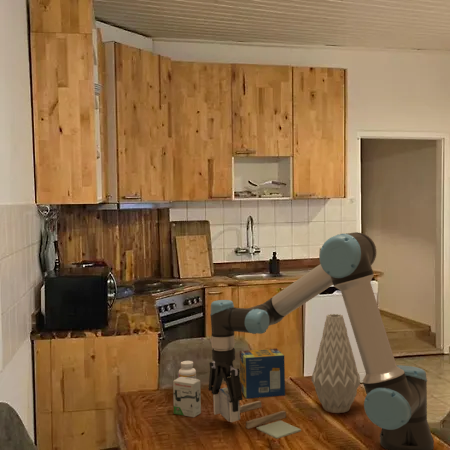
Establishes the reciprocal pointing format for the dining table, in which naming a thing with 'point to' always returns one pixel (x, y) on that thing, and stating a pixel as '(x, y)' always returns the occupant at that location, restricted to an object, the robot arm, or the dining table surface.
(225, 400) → the medicine box
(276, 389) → the protein box
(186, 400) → the ink box
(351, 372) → the vase
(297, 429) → the sage mat
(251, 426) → the slot rack
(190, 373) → the supplement bottle
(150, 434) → the dining table surface
